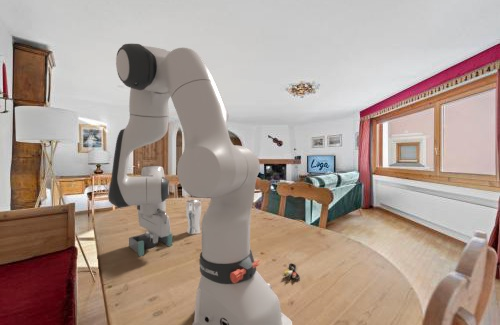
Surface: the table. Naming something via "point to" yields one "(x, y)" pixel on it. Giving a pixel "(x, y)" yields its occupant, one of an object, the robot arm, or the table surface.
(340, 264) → the table surface
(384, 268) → the table surface
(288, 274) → the composite cable
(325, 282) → the table surface
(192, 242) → the table surface
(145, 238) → the dark grey rounded dome
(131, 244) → the cable holder
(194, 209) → the beer glass
